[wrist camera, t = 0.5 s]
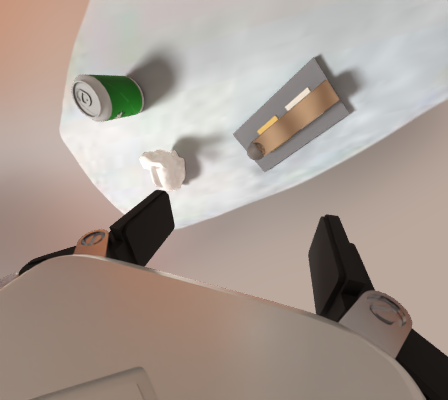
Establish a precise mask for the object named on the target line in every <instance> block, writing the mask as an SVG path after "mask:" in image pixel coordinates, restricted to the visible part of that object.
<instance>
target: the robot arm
mask: <svg viewBox="0 0 448 400" xmlns="http://www.w3.org/2000/svg"><path fill="white" fill-rule="evenodd" d="M173 229H174V220H173V215H172V210H171V205H170V200H169V195H168V194H167V193H166V191H162V190H155V191H154V192H153V193H152V194H150V195H149V196H148V197H147V198H145V199H144V200H143V201H142V202H140V203H139V204H138V205H137V206H135V207H134V208H133V209H132V210H130V211H129V212H128V213H126V214H125V215H124V216H123V217H122V218H120V219H119V220H118V221H116V222H115V223H114V224H113V225H111V226H110V230H111V231H110V232H109V233H108V231H106V230H100V229H99V230H94V231H91V232H89V233H87V234H85V235H84V236H82V237H81V238H80V239H79V241H78V242H77V245H76V246H74V247H70V248H67V249H64V250H61V251H58V252H54V253H51V254H47V255H44V256H41V257H38V258H35V259H33V260H31V261H30V262H29V263H28V264H26V265H25V266H24V267H23V268H22V269H21V270H20V272H19V274H17V273H16V272H15V273H13V274H10V275H8V276H6V277H4V278H2V279H0V400H448V357H447V356H446V355H445V354H444V353H442V352H441V351H440V350H439V349H437V348H436V347H435V346H434V345H432V344H431V343H429V342H428V341H427V340H426V339H425V338H423V337H422V336H421V335H419V334H418V333H417V332H416V331H414V330H413V329H412V320H411V317H410V315H409V314H408V312H407V310H406V309H405V308H404V307H403V306H402V305H401V304H400V303H398V301H396V300H395V299H394V298H392V297H390V296H388V295H387V294H385V293H382V292H379V291H375V289H374V287H373V285H372V283H371V280H370V278H369V276H368V274H367V271H366V269H365V267H364V265H363V262H362V260H361V258H360V255H359V253H358V251H357V249H356V247H355V245H354V244H352V243H349V241H348V238H347V235H346V233H345V231H344V228H343V226H342V223H341V221H340V218H339V217H338V216H334V215H325V217H321V218H320V221H319V224H318V227H317V230H316V233H315V235H314V238H313V241H312V244H311V247H310V250H309V255H308V256H309V265H310V272H311V279H312V286H313V294H314V301H315V308H316V314H313V313H310V312H307V311H304V310H300V309H297V308H294V307H290V306H287V305H283V304H280V303H277V302H273V301H270V300H266V299H262V298H259V297H255V296H251V295H248V294H244V293H240V292H237V291H233V290H229V289H226V288H222V287H218V286H215V285H211V284H207V283H204V282H200V281H196V280H192V279H189V278H185V277H181V276H177V275H174V274H170V273H166V272H162V271H158V270H155V269H151V268H147V267H145V265H146V264H147V263H148V261H149V260H150V259H151V258H152V256H153V255H154V254H155V252H156V251H157V250H158V249H159V247H160V246H161V245H162V243H163V242H164V241H165V240H166V238H167V237H168V236H169V235H170V233H171V232H172V231H173Z"/></svg>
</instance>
